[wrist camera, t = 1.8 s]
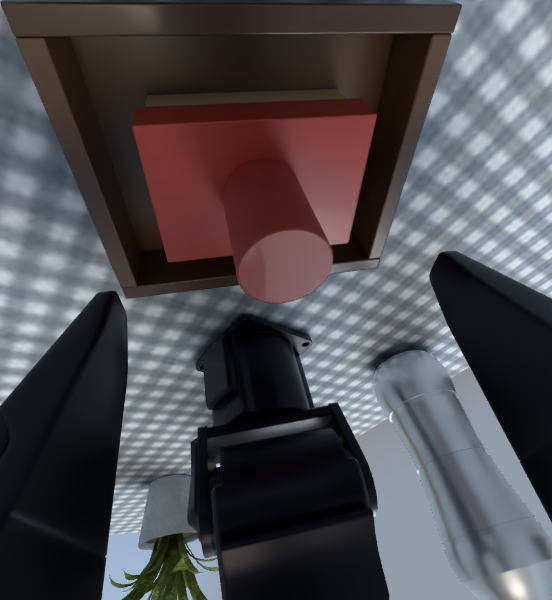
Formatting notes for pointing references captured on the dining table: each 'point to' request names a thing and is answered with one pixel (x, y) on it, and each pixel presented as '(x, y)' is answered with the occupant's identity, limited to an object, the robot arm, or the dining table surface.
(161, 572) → the house plant
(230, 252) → the brush
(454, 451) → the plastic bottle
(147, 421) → the dining table surface
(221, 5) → the brown wooden tray
